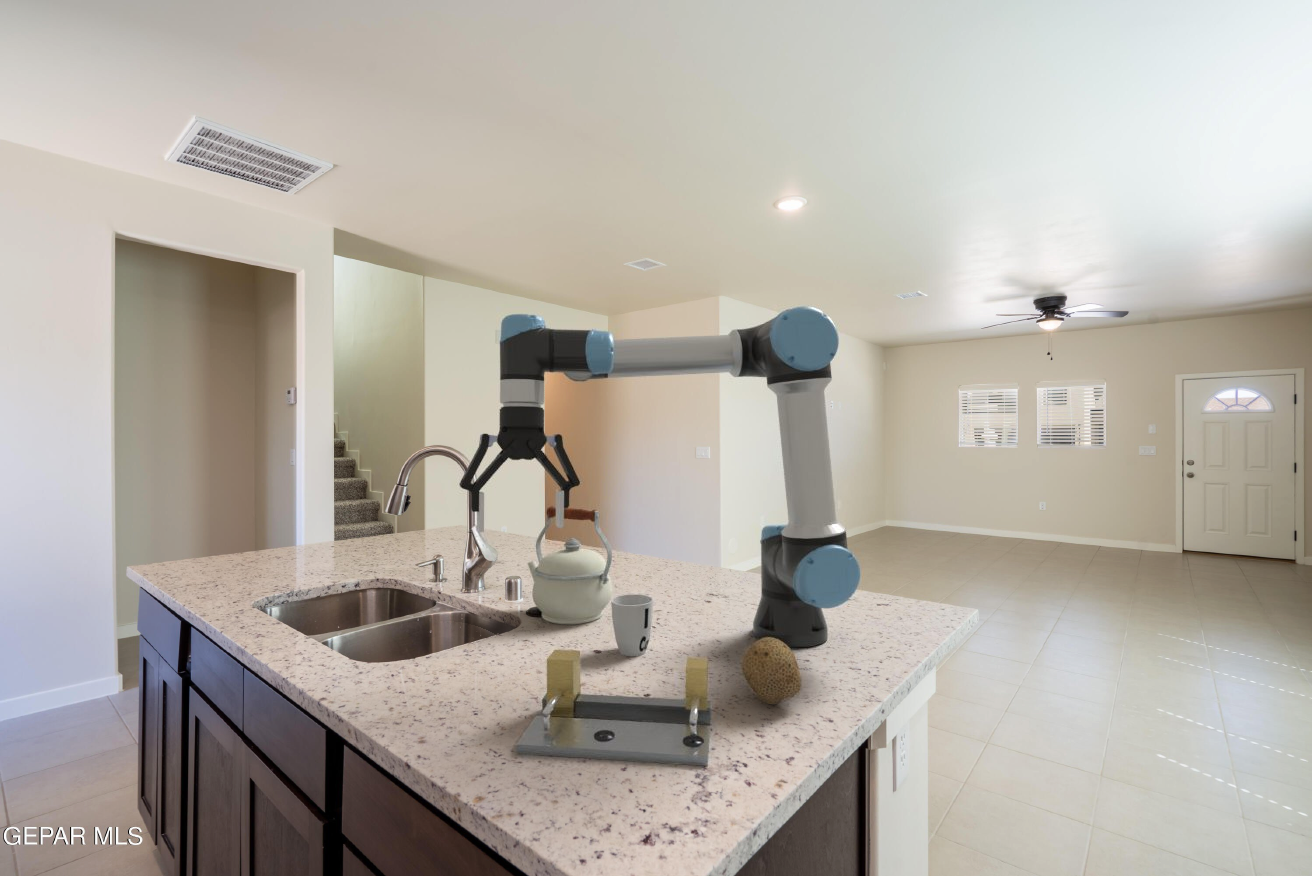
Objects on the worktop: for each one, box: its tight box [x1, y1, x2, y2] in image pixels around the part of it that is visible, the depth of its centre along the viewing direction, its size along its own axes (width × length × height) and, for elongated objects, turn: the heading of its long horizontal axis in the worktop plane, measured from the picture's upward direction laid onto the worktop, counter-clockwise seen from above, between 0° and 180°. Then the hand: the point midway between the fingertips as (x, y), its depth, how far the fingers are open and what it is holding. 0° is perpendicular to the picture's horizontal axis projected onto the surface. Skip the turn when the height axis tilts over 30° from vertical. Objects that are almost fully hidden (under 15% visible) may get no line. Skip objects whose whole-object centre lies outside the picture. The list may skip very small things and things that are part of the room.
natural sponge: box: [741, 637, 802, 705], centre depth 94 cm, size 9×9×10 cm
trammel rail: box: [541, 656, 712, 740], centre depth 86 cm, size 25×11×8 cm, turn 83°
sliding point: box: [541, 649, 582, 731], centre depth 87 cm, size 4×11×8 cm, turn 173°
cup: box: [610, 593, 654, 657], centre depth 116 cm, size 8×8×10 cm
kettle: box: [527, 505, 613, 625], centre depth 140 cm, size 25×18×25 cm
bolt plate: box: [515, 715, 711, 767], centre depth 81 cm, size 25×8×1 cm, turn 83°
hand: (521, 529), depth 104 cm, fingers open, 13 cm apart
